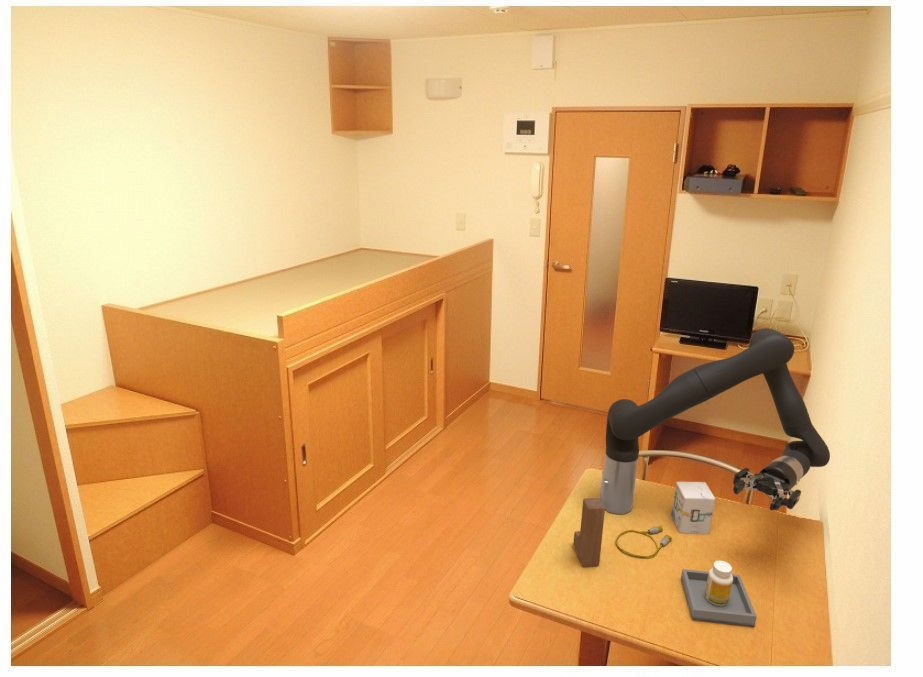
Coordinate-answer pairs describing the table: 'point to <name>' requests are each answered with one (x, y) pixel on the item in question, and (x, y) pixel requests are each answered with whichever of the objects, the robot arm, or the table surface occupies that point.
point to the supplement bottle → (719, 583)
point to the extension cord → (650, 531)
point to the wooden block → (590, 532)
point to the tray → (703, 610)
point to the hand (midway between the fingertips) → (753, 498)
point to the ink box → (693, 507)
